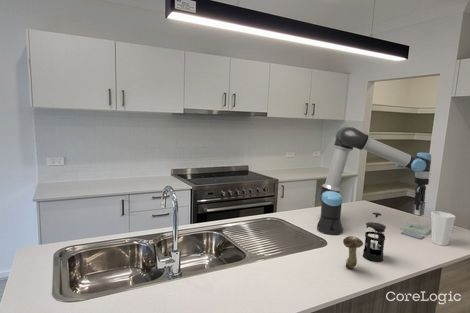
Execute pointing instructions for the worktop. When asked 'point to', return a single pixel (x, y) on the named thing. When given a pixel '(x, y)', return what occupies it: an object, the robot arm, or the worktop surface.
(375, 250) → the french press
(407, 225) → the outlet plate
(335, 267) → the worktop surface
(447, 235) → the cup
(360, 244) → the mushroom
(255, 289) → the worktop surface
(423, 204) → the block
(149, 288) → the worktop surface
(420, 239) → the phone
